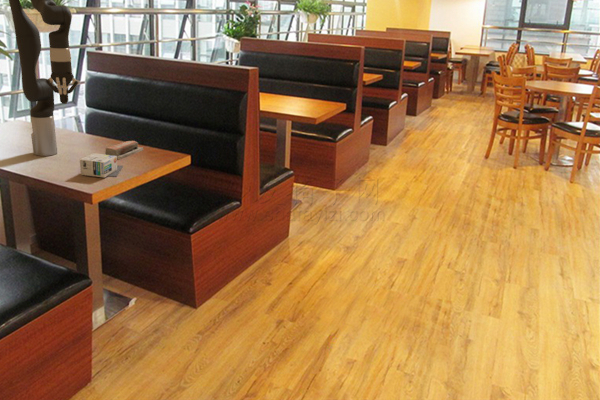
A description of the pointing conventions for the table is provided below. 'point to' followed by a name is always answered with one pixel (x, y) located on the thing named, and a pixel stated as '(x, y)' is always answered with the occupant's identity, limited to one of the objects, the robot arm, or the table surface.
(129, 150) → the packaged product
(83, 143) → the table surface
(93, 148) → the table surface
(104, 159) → the light bulb box
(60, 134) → the table surface
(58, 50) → the robot arm
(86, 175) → the mat
